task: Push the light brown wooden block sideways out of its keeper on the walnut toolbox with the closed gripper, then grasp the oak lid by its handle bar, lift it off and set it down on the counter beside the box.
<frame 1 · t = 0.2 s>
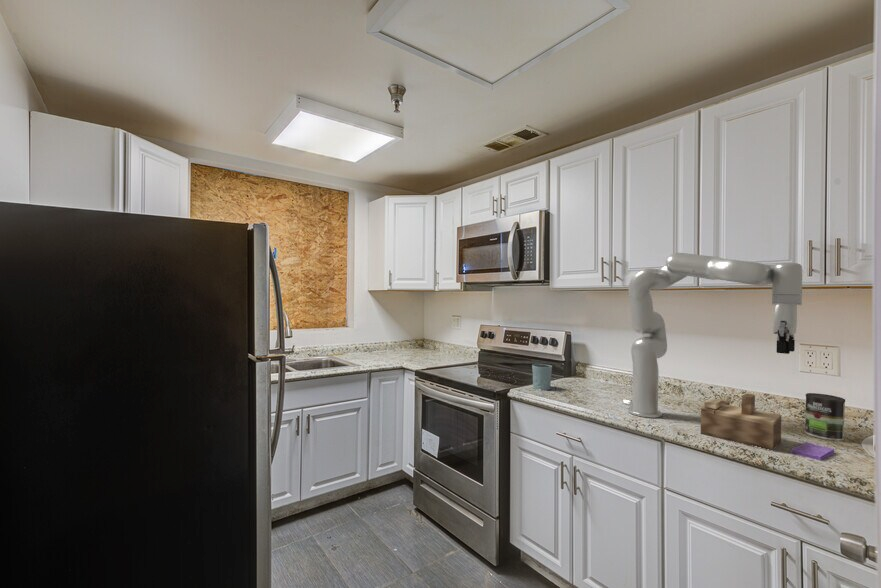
hand: (785, 352, 133), 31 cm above the counter, fingers open, 9 cm apart
toolbox: (739, 437, 140), on the counter
lid: (748, 415, 139), point 8 cm above the counter, touching toolbox
coffee can: (824, 436, 144), on the counter
drinking glass: (541, 388, 209), on the counter
light brown wooden block: (713, 403, 145), point 10 cm above the counter, slide at 0.0 cm
sponges: (812, 455, 127), on the counter
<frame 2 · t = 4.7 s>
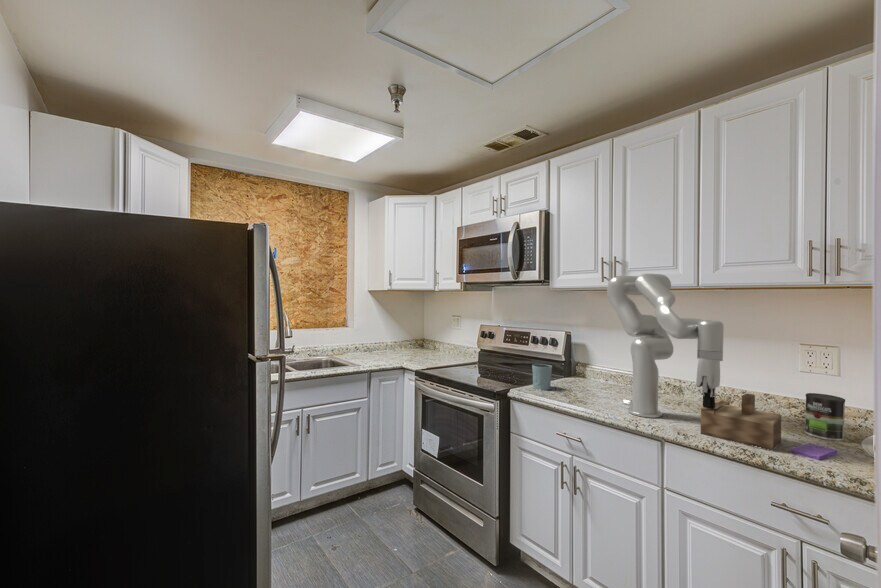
hand: (708, 407, 142), 10 cm above the counter, fingers closed
light brown wooden block: (713, 403, 146), point 10 cm above the counter, slide at 0.3 cm, touching gripper
everything else where it was.
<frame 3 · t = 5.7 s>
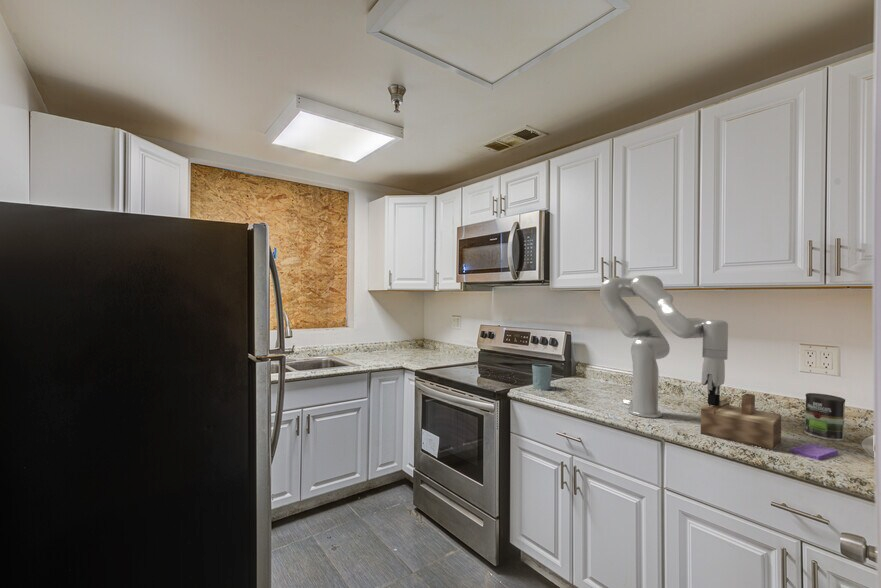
hand: (713, 404, 146), 10 cm above the counter, fingers closed
light brown wooden block: (718, 400, 149), point 10 cm above the counter, slide at 6.1 cm, touching gripper
everything else where it was.
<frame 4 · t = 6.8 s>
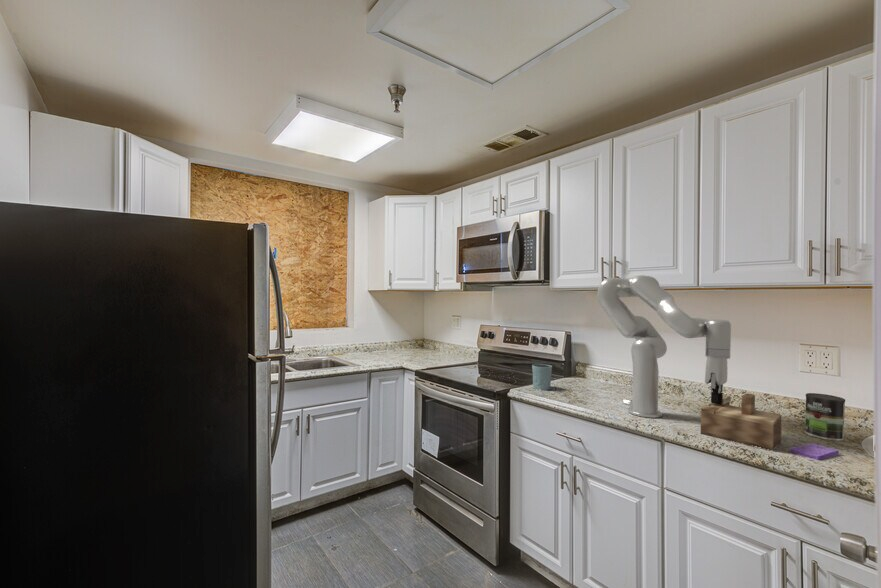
hand: (716, 403, 148), 10 cm above the counter, fingers closed
light brown wooden block: (721, 399, 152), point 10 cm above the counter, slide at 9.7 cm, touching gripper
everything else where it was.
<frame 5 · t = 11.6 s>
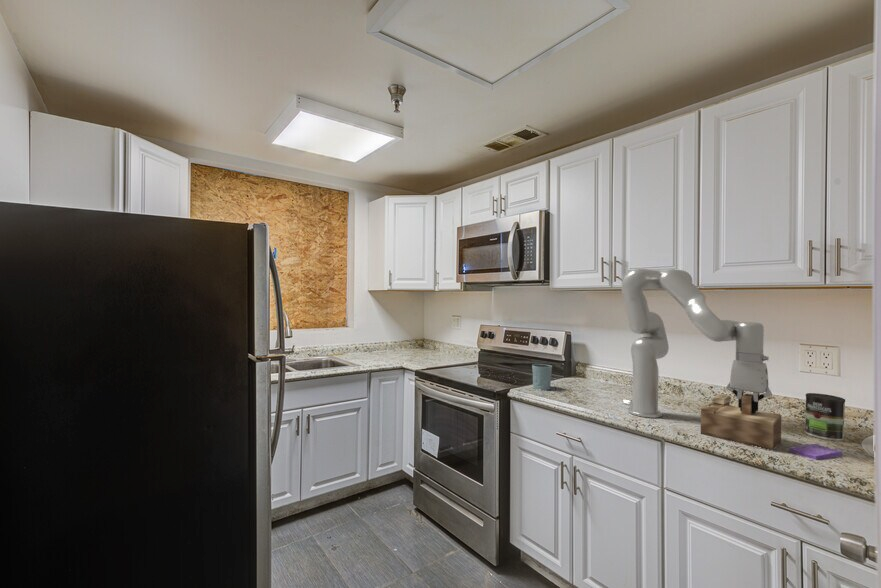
hand: (748, 410, 139), 10 cm above the counter, fingers closed on lid, 2 cm apart
lid: (748, 415, 139), point 8 cm above the counter, touching gripper, toolbox
light brown wooden block: (721, 399, 152), point 10 cm above the counter, slide at 9.7 cm
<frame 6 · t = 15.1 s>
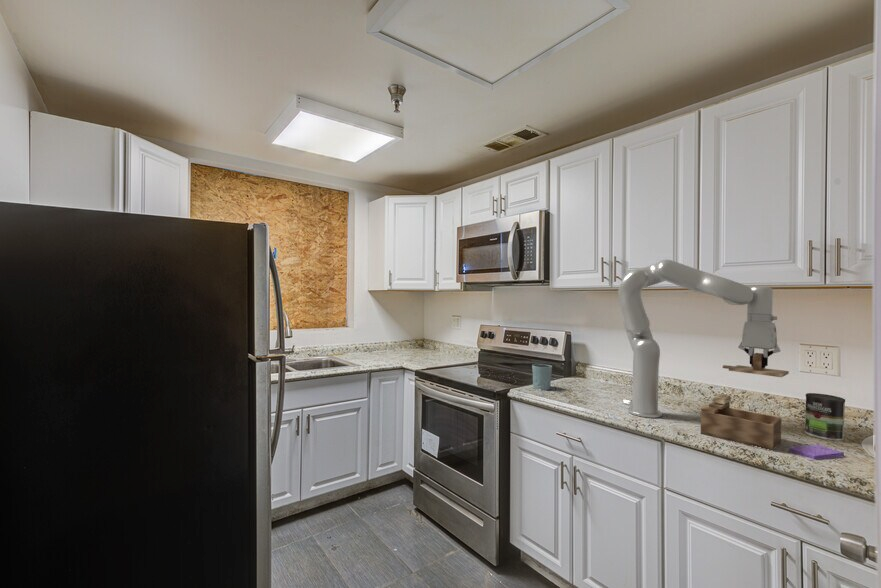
hand: (758, 366, 153), 23 cm above the counter, fingers closed on lid, 2 cm apart
lid: (758, 372, 153), point 21 cm above the counter, touching gripper
light brown wooden block: (721, 399, 152), point 10 cm above the counter, slide at 10.1 cm
when the fingers open (3 cm above the counter, at t = 18.7 s): lid drops 1 cm, on the counter.
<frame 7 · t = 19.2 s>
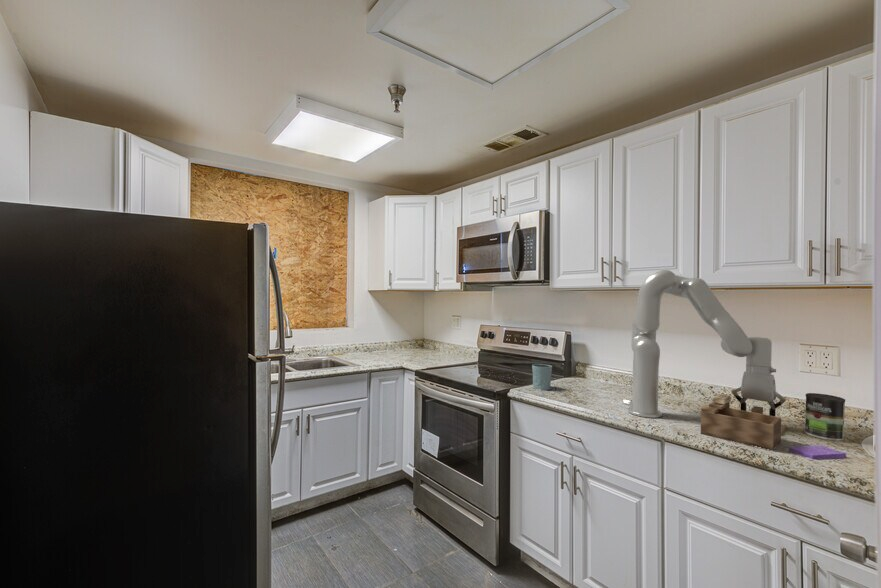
hand: (757, 415, 153), 4 cm above the counter, fingers open, 7 cm apart
lid: (756, 426, 153), on the counter
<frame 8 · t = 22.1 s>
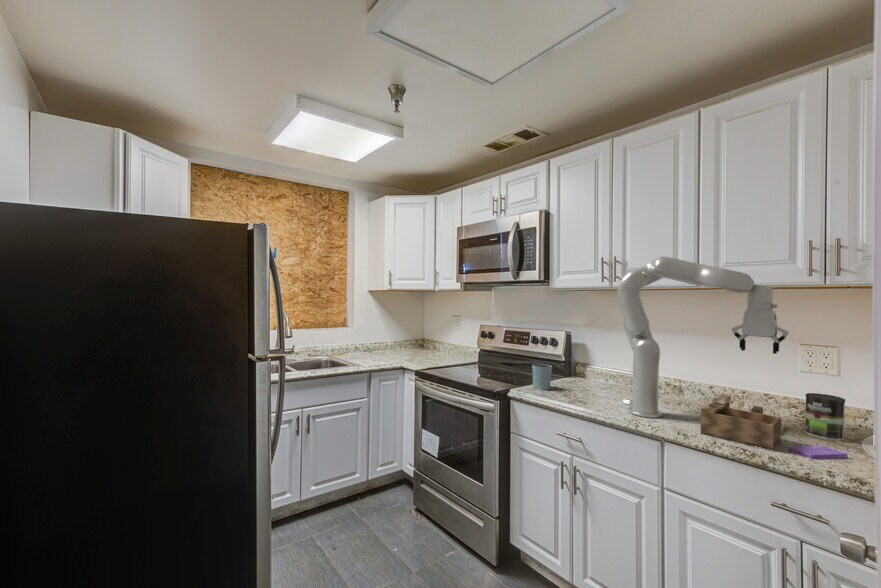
hand: (758, 351, 153), 28 cm above the counter, fingers open, 9 cm apart
at the end: light brown wooden block slide at 10.1 cm; lid inside the target area (0.2 cm from its centre), on the counter; lid tilted 1° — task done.
